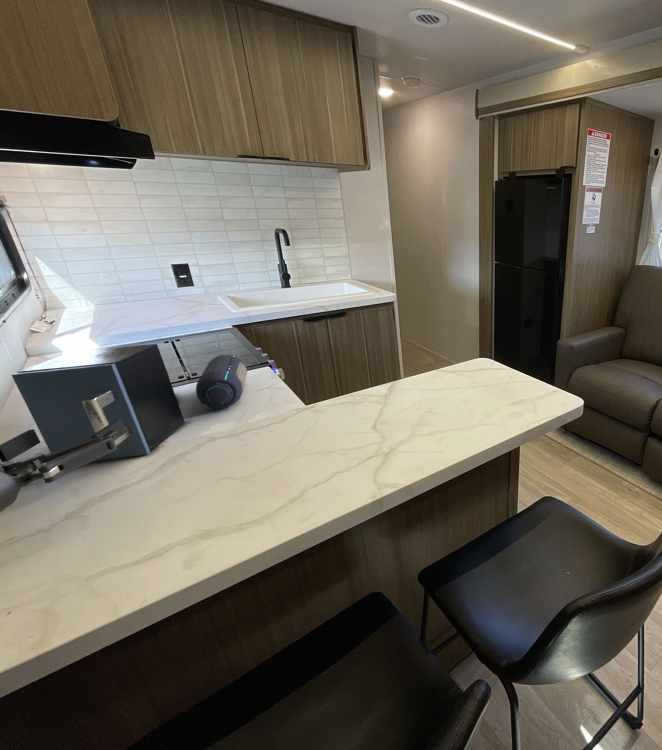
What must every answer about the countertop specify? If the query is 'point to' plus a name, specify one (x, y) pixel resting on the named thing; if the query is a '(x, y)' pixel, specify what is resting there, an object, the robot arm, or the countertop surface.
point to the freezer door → (81, 407)
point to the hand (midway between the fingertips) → (79, 430)
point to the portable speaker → (221, 382)
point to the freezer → (134, 385)
